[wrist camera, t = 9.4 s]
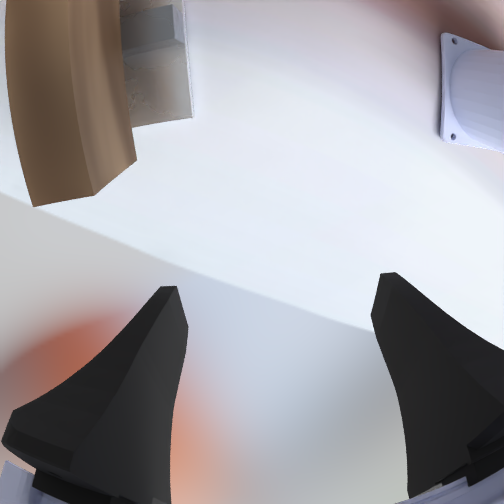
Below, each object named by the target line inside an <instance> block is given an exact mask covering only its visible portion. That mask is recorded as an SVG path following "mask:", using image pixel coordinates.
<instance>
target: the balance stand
mask: <svg viewBox="0 0 504 504" xmlns="http://www.w3.org/2000/svg"><path fill="white" fill-rule="evenodd" d="M119 7H120V28H121V43H122V55H123V66H124V76H125V84H126V93H127V100H128V108H129V115H130V121H131V128H133V127H138V126H143V125H149V124H154V123H160V122H166V121H172V120H179V119H186V118H193V117H194V109H193V100H192V90H191V80H190V70H189V59H188V47H187V35H186V22H185V7H184V0H119Z"/></svg>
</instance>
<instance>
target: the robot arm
mask: <svg viewBox="0 0 504 504" xmlns="http://www.w3.org/2000/svg"><path fill="white" fill-rule="evenodd" d="M452 39H453V40H454V44H453V42H452ZM441 52H442V112H441V129H440V137H441V139H442V140H443V141H444V142H447V143H453V144H460V145H466V146H472V147H478V148H484V149H489V150H494V151H499V152H501V153H503V154H504V51H502V50H491V49H489V48H486V47H484V46H482V45H479V44H477V43H475V42H472V41H469V40H467V39H464V38H462V37H459V36H456V35H453V34H450V33H442V34H441ZM452 133H453V138H452V139H451V134H452ZM371 319H372V323H373V327H374V331H375V335H376V338H377V341H378V344H379V346H380V349H381V351H382V354H383V357H384V360H385V362H386V364H387V367H388V370H389V373H390V375H391V378H392V381H393V384H394V386H395V390H396V393H397V397H398V401H399V405H400V411H401V416H402V421H403V428H404V434H405V442H406V453H407V475H408V483H407V491H408V495H409V499H408V500H405V501H402V502H399V503H396V504H504V350H502V349H501V348H499V347H497V346H495V345H493V344H491V343H490V342H488V341H486V340H484V339H483V338H481V337H480V336H478V335H477V334H475V333H473V332H472V331H470V330H469V329H467V328H466V327H464V326H463V325H462V324H460V323H459V322H458V321H456V320H455V319H454V318H452V317H451V316H450V315H448V314H447V313H446V312H444V311H443V310H442V309H441V308H439V307H438V306H437V305H436V304H434V303H433V302H432V301H431V300H429V299H428V298H427V297H426V296H425V295H423V294H422V293H421V292H420V291H419V290H417V289H416V288H415V287H414V286H413V285H411V284H410V283H409V282H408V281H406V280H405V279H404V278H403V277H401V276H400V275H399V274H397V273H396V272H393V273H381V274H380V278H379V283H378V287H377V292H376V296H375V300H374V304H373V308H372V312H371ZM187 337H188V324H187V321H186V317H185V314H184V310H183V307H182V303H181V300H180V296H179V293H178V289H177V286H163V287H162V286H161V287H160V288H159V289H158V290H157V291H156V292H155V293H154V295H153V296H152V297H151V298H150V299H149V300H148V302H147V303H146V304H145V305H144V306H143V307H142V308H141V310H140V311H139V312H138V313H137V314H136V315H135V316H134V318H133V319H132V320H131V321H130V322H129V323H128V324H127V325H126V327H125V328H124V329H123V330H122V331H121V332H120V333H119V334H118V335H117V336H116V337H115V338H114V339H113V340H112V341H111V342H110V343H109V344H108V345H107V346H106V347H105V348H104V349H103V350H102V351H101V352H100V353H99V354H98V355H97V356H96V357H94V358H93V359H92V360H91V361H90V362H89V363H87V364H86V365H85V366H84V367H83V368H81V369H80V370H79V371H77V372H76V373H75V374H73V375H72V376H71V377H69V378H68V379H67V380H65V381H64V382H63V383H61V384H60V385H58V386H57V387H55V388H54V389H52V390H50V391H49V392H48V393H46V394H44V395H42V396H41V397H39V398H37V399H35V400H33V401H32V402H29V403H27V404H25V405H23V406H21V407H20V408H17V409H15V410H13V412H12V415H11V417H10V419H9V422H8V424H7V427H6V430H5V432H4V435H3V438H2V441H1V442H2V444H3V445H4V447H6V448H7V449H8V450H9V451H10V452H12V453H13V454H15V455H16V456H17V457H19V458H21V459H22V460H23V461H25V462H26V463H28V464H29V465H31V466H32V467H34V468H36V472H35V475H33V474H32V473H30V472H28V471H26V470H24V469H22V468H20V467H19V466H17V465H15V464H13V463H11V462H9V461H5V464H4V467H3V471H2V474H1V477H0V504H171V492H170V445H171V430H172V418H173V409H174V403H175V398H176V394H177V389H178V384H179V380H180V376H181V372H182V367H183V363H184V358H185V354H186V346H187Z"/></svg>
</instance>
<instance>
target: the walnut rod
mask: <svg viewBox="0 0 504 504" xmlns="http://www.w3.org/2000/svg"><path fill="white" fill-rule="evenodd" d="M5 62H6V77H7V88H8V97H9V104H10V112H11V118H12V124H13V130H14V135H15V140H16V145H17V149H18V154H19V158H20V162H21V166H22V170H23V174H24V178H25V182H26V185H27V189H28V192H29V195H30V199H31V202H32V205H33V207H37V206H41V205H46V204H51V203H56V202H61V201H67V200H72V199H78V198H83V197H89V196H94V195H95V194H97V193H98V192H99V191H100V190H101V189H102V188H104V187H105V186H106V185H107V184H108V183H109V182H111V181H112V180H113V179H114V178H116V177H117V176H118V175H119V174H120V173H122V172H123V171H124V170H125V169H127V168H128V167H129V166H130V165H132V164H133V163H134V162H136V161H137V157H136V151H135V146H134V140H133V134H132V128H131V121H130V115H129V108H128V100H127V93H126V84H125V76H124V66H123V55H122V43H121V28H120V7H119V0H7V1H6V15H5Z"/></svg>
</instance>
